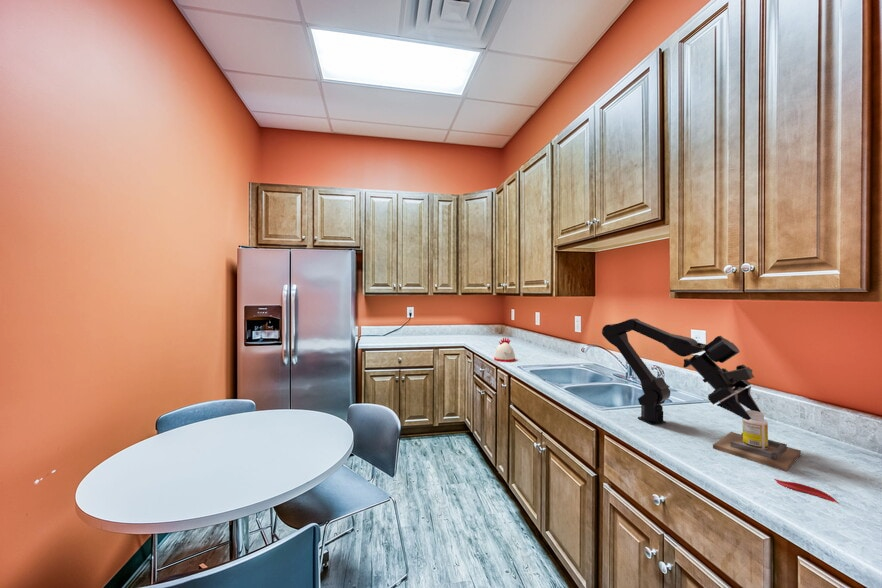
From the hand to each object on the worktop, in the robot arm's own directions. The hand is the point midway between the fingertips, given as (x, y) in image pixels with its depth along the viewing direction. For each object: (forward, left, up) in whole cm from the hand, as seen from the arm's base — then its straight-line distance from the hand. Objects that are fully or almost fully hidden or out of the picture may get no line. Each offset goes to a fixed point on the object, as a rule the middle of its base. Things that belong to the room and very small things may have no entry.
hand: (754, 416), depth 103 cm
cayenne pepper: (+18, -11, -11) cm, 24 cm away
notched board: (0, 0, -10) cm, 10 cm away
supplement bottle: (0, 0, -9) cm, 9 cm away
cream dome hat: (-140, -15, -11) cm, 141 cm away
